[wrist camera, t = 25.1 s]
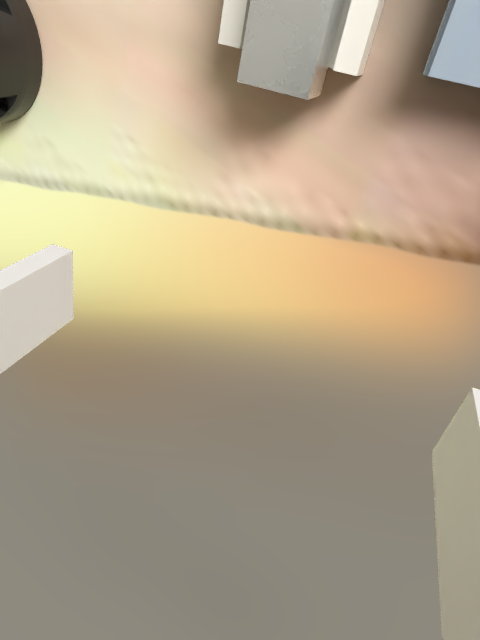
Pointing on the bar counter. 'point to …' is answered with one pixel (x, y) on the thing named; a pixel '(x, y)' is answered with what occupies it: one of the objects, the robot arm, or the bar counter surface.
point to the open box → (457, 45)
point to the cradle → (350, 39)
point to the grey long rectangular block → (289, 45)
